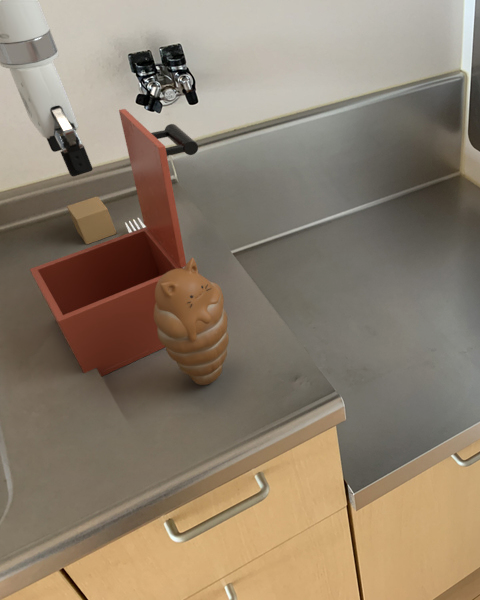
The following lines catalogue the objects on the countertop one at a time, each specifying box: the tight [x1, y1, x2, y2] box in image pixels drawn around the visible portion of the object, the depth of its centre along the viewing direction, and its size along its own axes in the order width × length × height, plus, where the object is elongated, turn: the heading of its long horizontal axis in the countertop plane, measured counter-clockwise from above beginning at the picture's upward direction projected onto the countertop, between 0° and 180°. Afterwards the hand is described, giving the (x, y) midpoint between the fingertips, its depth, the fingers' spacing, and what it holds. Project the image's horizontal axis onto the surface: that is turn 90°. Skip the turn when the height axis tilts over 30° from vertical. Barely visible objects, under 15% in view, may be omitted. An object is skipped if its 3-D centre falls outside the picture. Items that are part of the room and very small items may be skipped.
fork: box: [124, 217, 146, 233], centre depth 98 cm, size 3×20×2 cm, turn 39°
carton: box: [66, 195, 117, 245], centre depth 102 cm, size 5×5×5 cm
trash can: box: [29, 227, 184, 377], centre depth 82 cm, size 16×13×11 cm
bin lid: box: [118, 108, 199, 268], centre depth 78 cm, size 16×13×6 cm
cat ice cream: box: [154, 257, 230, 386], centre depth 73 cm, size 9×8×18 cm
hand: (72, 160), depth 95 cm, fingers open, 9 cm apart
